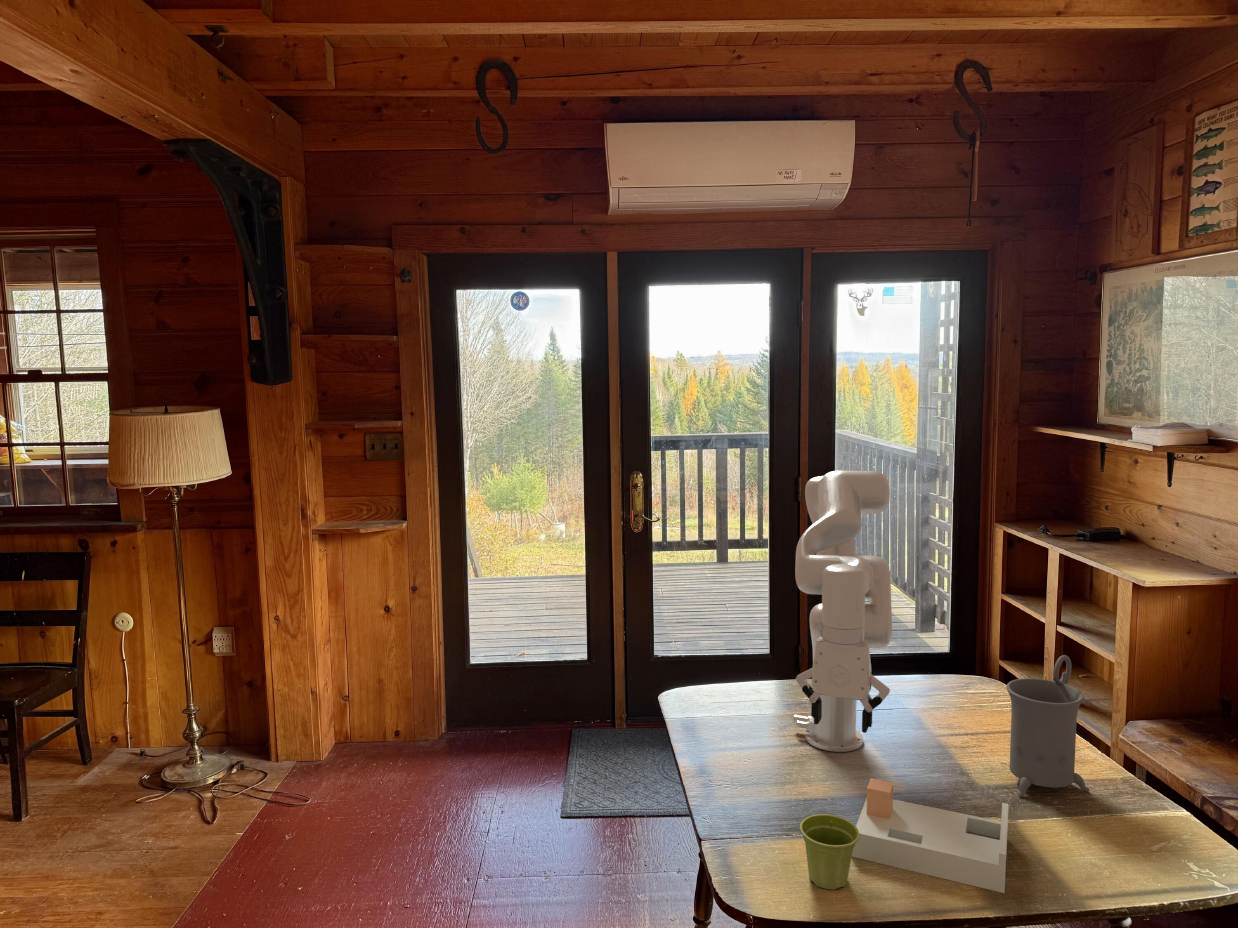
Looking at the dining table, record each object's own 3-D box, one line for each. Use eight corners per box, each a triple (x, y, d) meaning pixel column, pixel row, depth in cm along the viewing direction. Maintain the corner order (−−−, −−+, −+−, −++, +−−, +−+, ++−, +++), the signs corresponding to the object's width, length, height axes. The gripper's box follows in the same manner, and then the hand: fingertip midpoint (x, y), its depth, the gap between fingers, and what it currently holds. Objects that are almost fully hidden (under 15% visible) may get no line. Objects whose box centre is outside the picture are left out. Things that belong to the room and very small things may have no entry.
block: (866, 814, 150) (867, 787, 150) (870, 803, 154) (870, 778, 153) (889, 819, 148) (890, 792, 148) (892, 808, 152) (893, 782, 151)
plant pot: (859, 867, 139) (860, 818, 138) (856, 901, 130) (857, 849, 129) (802, 857, 142) (803, 809, 141) (796, 890, 133) (796, 839, 132)
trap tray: (850, 856, 142) (851, 820, 142) (867, 808, 158) (868, 776, 157) (1004, 893, 132) (1006, 854, 131) (1007, 838, 147) (1008, 803, 146)
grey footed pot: (1057, 813, 155) (1063, 684, 152) (982, 782, 167) (987, 662, 164) (1103, 782, 166) (1109, 662, 164) (1030, 755, 178) (1035, 643, 175)
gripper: (790, 633, 151) (789, 725, 153) (889, 645, 143) (887, 742, 145) (800, 621, 158) (799, 710, 160) (895, 633, 150) (893, 725, 152)
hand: (841, 725), depth 153 cm, fingers open, 8 cm apart
